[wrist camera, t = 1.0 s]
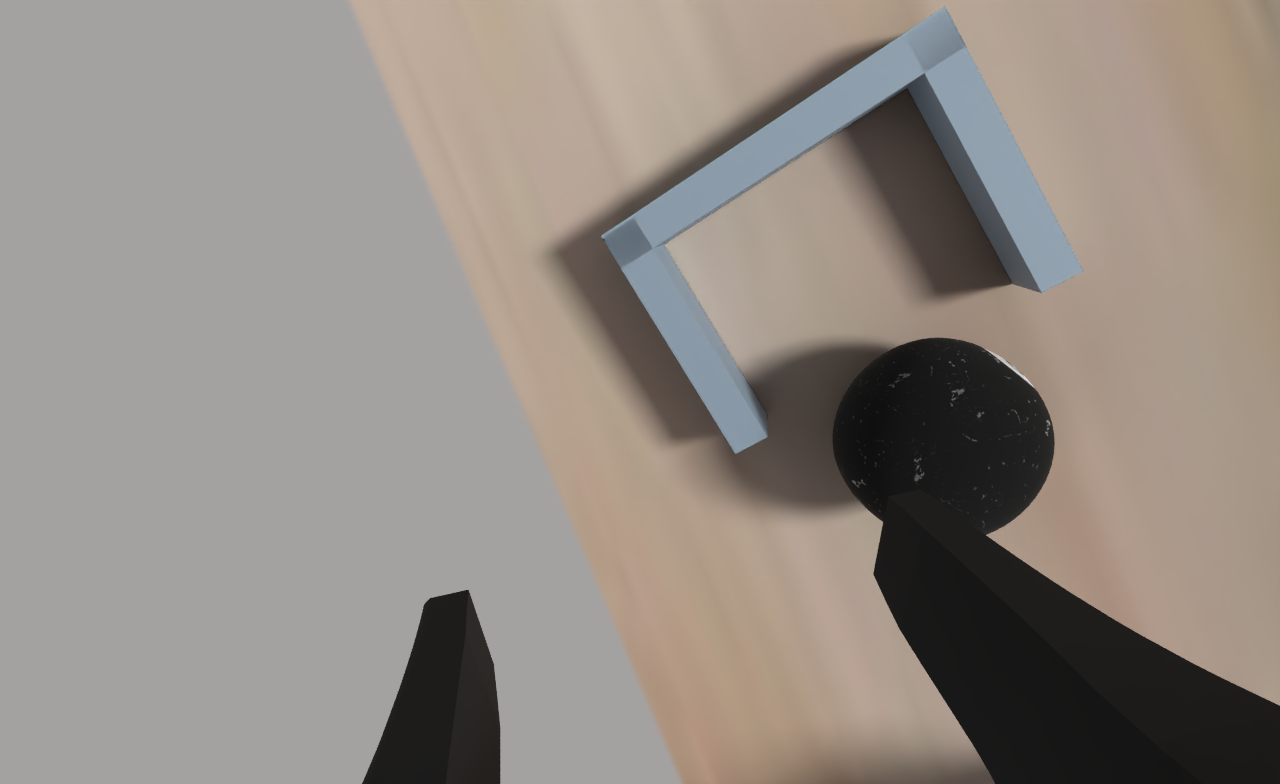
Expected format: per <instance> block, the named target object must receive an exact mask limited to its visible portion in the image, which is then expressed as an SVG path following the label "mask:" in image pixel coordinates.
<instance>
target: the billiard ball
mask: <svg viewBox="0 0 1280 784" xmlns="http://www.w3.org/2000/svg"><path fill="white" fill-rule="evenodd" d="M1054 444H1055V443H1054V431H1053V426H1052V421H1051V418H1050V415H1049V413H1048V410H1047V408H1046V406H1045V404H1044V402H1043V400H1042V398H1041V397H1040V395H1039V393H1038V392H1037V391H1036V389H1035V388H1034V387H1033V385H1032V384H1031V383H1030V382H1029V380H1028V379H1027V378H1026V377H1025V376H1024V375H1023V374H1022V373H1021V372H1020V371H1018V370H1017V369H1016V368H1015V367H1014V366H1013V365H1011V364H1010V363H1009V362H1007V361H1006V360H1005V359H1003V358H1002V357H1000V356H998V355H997V354H995V353H993V352H991V351H989V350H987V349H985V348H983V347H980V346H978V345H975V344H973V343H969V342H965V341H961V340H956V339H950V338H928V339H921V340H916V341H912V342H909V343H906V344H903V345H900V346H898V347H896V348H894V349H892V350H890V351H888V352H886V353H885V354H883V355H881V356H880V357H879V358H877V359H876V360H874V361H873V362H872V363H871V364H869V365H868V366H867V367H866V368H865V369H864V370H863V371H862V372H861V373H860V374H859V375H858V376H857V378H856V379H855V380H854V381H853V383H852V384H851V386H850V387H849V388H848V390H847V392H846V393H845V395H844V397H843V399H842V401H841V403H840V405H839V408H838V411H837V414H836V417H835V422H834V427H833V449H834V455H835V459H836V463H837V465H838V468H839V470H840V473H841V475H842V477H843V479H844V481H845V482H846V484H847V485H848V487H849V488H850V490H851V491H852V493H853V494H854V495H855V496H856V498H857V499H858V500H859V501H860V502H861V503H862V504H863V505H864V506H865V507H866V508H867V509H868V510H869V511H870V512H871V513H872V514H873V515H875V516H876V517H877V518H879V519H880V520H881V521H883V522H884V516H885V511H886V506H887V501H888V496H892V495H897V494H901V493H906V492H910V491H915V490H919V489H921V490H923V491H924V492H926V493H927V494H929V495H930V496H932V497H933V498H934V499H936V500H937V501H939V502H940V503H941V504H943V505H944V506H946V507H947V508H948V509H950V510H951V511H953V512H954V513H955V514H957V515H958V516H960V517H961V518H962V519H964V520H965V521H967V522H968V523H969V524H971V525H972V526H973V527H975V528H976V529H978V530H979V531H980V532H982V533H983V534H985V535H987V534H989V533H991V532H994V531H996V530H998V529H999V528H1001V527H1003V526H1005V525H1006V524H1008V523H1009V522H1011V521H1012V520H1014V519H1015V518H1016V517H1017V516H1019V515H1020V514H1021V513H1022V512H1023V511H1024V510H1025V509H1026V508H1027V507H1028V506H1029V505H1030V504H1031V502H1032V501H1033V500H1034V499H1035V497H1036V496H1037V494H1038V493H1039V491H1040V490H1041V488H1042V486H1043V485H1044V483H1045V481H1046V479H1047V476H1048V474H1049V471H1050V468H1051V465H1052V460H1053V455H1054Z"/></svg>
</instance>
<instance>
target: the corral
mask: <svg viewBox="0 0 1280 784" xmlns="http://www.w3.org/2000/svg"><path fill="white" fill-rule="evenodd" d="M906 88H908V90H909V92H910V94H911V96H912V98H913V100H914V101H915V103H916V105H917V107H918V109H919V111H920V113H921V114H922V116H923V118H924V120H925V122H926V124H927V126H928V127H929V129H930V131H931V133H932V135H933V137H934V139H935V140H936V142H937V144H938V146H939V148H940V150H941V152H942V153H943V155H944V157H945V159H946V161H947V163H948V165H949V166H950V168H951V170H952V172H953V174H954V176H955V177H956V179H957V181H958V183H959V185H960V187H961V189H962V190H963V192H964V194H965V196H966V198H967V200H968V202H969V203H970V205H971V207H972V209H973V211H974V213H975V215H976V216H977V218H978V220H979V222H980V224H981V226H982V228H983V229H984V231H985V233H986V235H987V237H988V239H989V241H990V242H991V244H992V246H993V248H994V250H995V252H996V254H997V255H998V257H999V259H1000V261H1001V263H1002V265H1003V267H1004V268H1005V270H1006V272H1007V274H1008V276H1009V278H1010V280H1011V281H1012V283H1013V284H1014V285H1017V286H1021V287H1024V288H1027V289H1031V290H1034V291H1037V292H1040V293H1043V292H1045V291H1046V290H1048V289H1050V288H1052V287H1054V286H1056V285H1058V284H1060V283H1062V282H1064V281H1066V280H1067V279H1069V278H1071V277H1073V276H1075V275H1077V274H1079V273H1081V272H1083V269H1082V267H1081V265H1080V263H1079V261H1078V259H1077V257H1076V255H1075V253H1074V252H1073V250H1072V248H1071V246H1070V244H1069V242H1068V240H1067V238H1066V236H1065V234H1064V232H1063V231H1062V229H1061V227H1060V225H1059V223H1058V221H1057V219H1056V217H1055V215H1054V213H1053V211H1052V209H1051V208H1050V206H1049V204H1048V202H1047V200H1046V198H1045V196H1044V194H1043V192H1042V190H1041V188H1040V187H1039V185H1038V183H1037V181H1036V179H1035V177H1034V175H1033V173H1032V171H1031V169H1030V167H1029V166H1028V164H1027V162H1026V160H1025V158H1024V156H1023V154H1022V152H1021V150H1020V148H1019V146H1018V144H1017V143H1016V141H1015V139H1014V137H1013V135H1012V133H1011V131H1010V129H1009V127H1008V125H1007V123H1006V122H1005V120H1004V118H1003V116H1002V114H1001V112H1000V110H999V108H998V106H997V104H996V102H995V100H994V99H993V97H992V95H991V93H990V91H989V89H988V87H987V85H986V83H985V81H984V79H983V78H982V76H981V74H980V72H979V70H978V68H977V66H976V64H975V62H974V60H973V58H972V56H971V55H970V53H969V51H968V49H967V47H966V45H965V43H964V41H963V39H962V37H961V35H960V34H959V32H958V30H957V28H956V26H955V24H954V22H953V20H952V18H951V16H950V14H949V12H948V11H947V9H946V7H945V6H944V7H943V8H941V9H940V10H938V11H937V12H935V13H934V14H932V15H931V16H929V17H928V18H926V19H925V20H923V21H922V22H920V23H919V24H918V25H916V26H915V27H913V28H912V29H910V30H909V31H907V32H906V33H904V34H903V35H901V36H900V37H898V38H897V39H895V40H894V41H892V42H891V43H889V44H888V45H886V46H885V47H883V48H882V49H880V50H879V51H877V52H876V53H874V54H873V55H871V56H870V57H868V58H867V59H865V60H864V61H862V62H861V63H859V64H858V65H856V66H855V67H853V68H852V69H850V70H849V71H847V72H846V73H844V74H843V75H841V76H840V77H838V78H837V79H835V80H834V81H832V82H831V83H829V84H828V85H826V86H825V87H823V88H822V89H820V90H819V91H817V92H816V93H814V94H813V95H811V96H810V97H808V98H807V99H805V100H804V101H802V102H801V103H799V104H798V105H796V106H795V107H793V108H792V109H790V110H789V111H787V112H786V113H784V114H783V115H781V116H780V117H778V118H777V119H775V120H774V121H772V122H771V123H769V124H768V125H766V126H765V127H763V128H762V129H760V130H759V131H757V132H756V133H754V134H753V135H751V136H750V137H748V138H747V139H745V140H744V141H742V142H741V143H739V144H738V145H736V146H735V147H733V148H732V149H730V150H729V151H727V152H726V153H724V154H723V155H721V156H720V157H718V158H717V159H715V160H714V161H712V162H711V163H709V164H708V165H706V166H705V167H703V168H702V169H700V170H699V171H697V172H696V173H694V174H693V175H691V176H690V177H688V178H687V179H685V180H684V181H682V182H681V183H679V184H678V185H676V186H675V187H673V188H672V189H670V190H669V191H667V192H666V193H664V194H663V195H661V196H660V197H658V198H657V199H655V200H654V201H652V202H651V203H649V204H648V205H646V206H645V207H643V208H642V209H640V210H639V211H637V212H636V213H634V214H633V215H632V216H630V217H629V218H627V219H626V220H624V221H623V222H621V223H620V224H618V225H617V226H615V227H614V228H612V229H611V230H609V231H608V232H606V233H605V234H603V235H602V236H601V237H602V239H603V240H604V242H605V244H606V245H607V247H608V248H609V250H610V252H611V253H612V255H613V257H614V258H615V260H616V261H617V263H618V265H619V266H620V268H621V269H622V271H623V273H624V274H625V276H626V278H627V279H628V281H629V282H630V284H631V286H632V287H633V289H634V291H635V292H636V294H637V295H638V297H639V299H640V300H641V302H642V303H643V305H644V307H645V308H646V310H647V312H648V313H649V315H650V316H651V318H652V320H653V321H654V323H655V325H656V326H657V328H658V329H659V331H660V333H661V334H662V336H663V337H664V339H665V341H666V342H667V344H668V346H669V347H670V349H671V350H672V352H673V354H674V355H675V357H676V359H677V360H678V362H679V363H680V365H681V367H682V368H683V370H684V372H685V373H686V375H687V376H688V378H689V380H690V381H691V383H692V384H693V386H694V388H695V389H696V391H697V393H698V394H699V396H700V397H701V399H702V401H703V402H704V404H705V406H706V407H707V409H708V410H709V412H710V414H711V415H712V417H713V418H714V420H715V422H716V423H717V425H718V427H719V428H720V430H721V431H722V433H723V435H724V436H725V438H726V440H727V441H728V443H729V444H730V446H731V448H732V449H733V451H734V453H735V454H737V453H739V452H740V451H742V450H744V449H746V448H748V447H750V446H752V445H754V444H756V443H758V442H759V441H761V440H763V439H765V438H767V437H768V415H767V414H766V412H765V410H764V409H763V407H762V406H761V404H760V402H759V401H758V399H757V397H756V396H755V394H754V392H753V391H752V389H751V387H750V386H749V384H748V382H747V381H746V379H745V377H744V376H743V374H742V372H741V371H740V369H739V368H738V366H737V364H736V363H735V361H734V359H733V358H732V356H731V354H730V353H729V351H728V349H727V348H726V346H725V344H724V343H723V341H722V339H721V338H720V336H719V334H718V333H717V331H716V330H715V328H714V326H713V325H712V323H711V321H710V320H709V318H708V316H707V315H706V313H705V311H704V310H703V308H702V306H701V305H700V303H699V301H698V300H697V298H696V297H695V295H694V293H693V292H692V290H691V288H690V287H689V285H688V283H687V282H686V280H685V278H684V277H683V275H682V273H681V272H680V270H679V268H678V267H677V265H676V263H675V262H674V260H673V259H672V257H671V255H670V254H669V252H668V250H667V249H666V247H665V245H664V244H666V243H667V242H669V241H670V240H672V239H673V238H675V237H676V236H678V235H680V234H681V233H683V232H684V231H686V230H687V229H689V228H690V227H692V226H694V225H695V224H697V223H698V222H700V221H701V220H703V219H704V218H706V217H708V216H709V215H711V214H712V213H714V212H715V211H717V210H718V209H720V208H722V207H723V206H725V205H726V204H728V203H729V202H731V201H732V200H734V199H736V198H737V197H739V196H740V195H742V194H743V193H745V192H746V191H748V190H749V189H751V188H753V187H754V186H756V185H757V184H759V183H760V182H762V181H763V180H765V179H767V178H768V177H770V176H771V175H773V174H774V173H776V172H777V171H779V170H781V169H782V168H784V167H785V166H787V165H788V164H790V163H791V162H793V161H795V160H796V159H798V158H799V157H801V156H802V155H804V154H805V153H807V152H809V151H810V150H812V149H813V148H815V147H816V146H818V145H819V144H821V143H823V142H824V141H826V140H827V139H829V138H830V137H832V136H833V135H835V134H836V133H838V132H840V131H841V130H843V129H844V128H846V127H847V126H849V125H850V124H852V123H854V122H855V121H857V120H858V119H860V118H861V117H863V116H864V115H866V114H868V113H869V112H871V111H872V110H874V109H875V108H877V107H878V106H880V105H882V104H883V103H885V102H886V101H888V100H889V99H891V98H892V97H894V96H896V95H897V94H899V93H900V92H902V91H903V90H905V89H906Z"/></svg>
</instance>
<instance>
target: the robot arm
mask: <svg viewBox="0 0 1280 784" xmlns="http://www.w3.org/2000/svg"><path fill="white" fill-rule="evenodd" d="M874 576H875V579H876V581H877V583H878V585H879V587H880V589H881V592H882V594H883V596H884V598H885V600H886V602H887V605H888V607H889V609H890V611H891V613H892V615H893V617H894V619H895V621H896V623H897V625H898V627H899V629H900V630H901V632H902V634H903V635H904V637H905V638H906V640H907V642H908V643H909V645H910V647H911V648H912V650H913V651H914V653H915V654H916V656H917V658H918V659H919V661H920V662H921V664H922V666H923V667H924V669H925V670H926V672H927V674H928V675H929V677H930V678H931V680H932V681H933V683H934V684H935V686H936V688H937V689H938V691H939V692H940V694H941V695H942V697H943V699H944V700H945V702H946V703H947V705H948V706H949V708H950V709H951V711H952V713H953V714H954V716H955V717H956V719H957V720H958V722H959V724H960V725H961V727H962V728H963V730H964V731H965V733H966V735H967V736H968V738H969V739H970V741H971V742H972V744H973V746H974V747H975V749H976V751H977V752H978V754H979V756H980V757H981V759H982V761H983V762H984V764H985V766H986V768H987V769H988V771H989V773H990V774H991V776H992V778H993V780H994V782H995V784H1280V706H1279V705H1277V704H1275V703H1273V702H1271V701H1269V700H1266V699H1264V698H1262V697H1260V696H1258V695H1256V694H1254V693H1252V692H1250V691H1248V690H1245V689H1243V688H1241V687H1239V686H1237V685H1235V684H1233V683H1231V682H1229V681H1227V680H1225V679H1222V678H1221V677H1219V676H1217V675H1215V674H1213V673H1211V672H1209V671H1207V670H1205V669H1203V668H1201V667H1199V666H1197V665H1195V664H1193V663H1191V662H1189V661H1187V660H1185V659H1184V658H1182V657H1180V656H1178V655H1176V654H1174V653H1173V652H1171V651H1169V650H1167V649H1165V648H1163V647H1162V646H1160V645H1158V644H1156V643H1154V642H1152V641H1151V640H1149V639H1147V638H1145V637H1143V636H1141V635H1140V634H1138V633H1136V632H1134V631H1133V630H1131V629H1129V628H1127V627H1126V626H1124V625H1122V624H1121V623H1119V622H1117V621H1115V620H1114V619H1112V618H1111V617H1109V616H1107V615H1106V614H1104V613H1102V612H1101V611H1099V610H1098V609H1096V608H1094V607H1093V606H1091V605H1089V604H1088V603H1086V602H1085V601H1083V600H1081V599H1080V598H1078V597H1076V596H1075V595H1073V594H1072V593H1070V592H1069V591H1067V590H1066V589H1064V588H1062V587H1061V586H1059V585H1058V584H1056V583H1055V582H1053V581H1052V580H1050V579H1049V578H1047V577H1046V576H1044V575H1043V574H1041V573H1040V572H1038V571H1037V570H1035V569H1034V568H1032V567H1031V566H1029V565H1028V564H1026V563H1025V562H1023V561H1022V560H1020V559H1019V558H1017V557H1016V556H1015V555H1013V554H1012V553H1010V552H1009V551H1007V550H1006V549H1005V548H1003V547H1002V546H1000V545H999V544H997V543H996V542H995V541H993V540H992V539H990V538H989V537H988V536H986V535H985V534H983V533H982V532H980V531H979V530H978V529H976V528H975V527H973V526H972V525H971V524H969V523H968V522H967V521H965V520H964V519H962V518H961V517H960V516H958V515H957V514H955V513H954V512H953V511H951V510H950V509H948V508H947V507H946V506H944V505H943V504H941V503H940V502H939V501H937V500H936V499H934V498H933V497H932V496H930V495H929V494H927V493H926V492H924V491H923V490H921V489H919V490H915V491H910V492H906V493H901V494H897V495H892V496H888V501H887V506H886V511H885V516H884V522H883V527H882V532H881V537H880V542H879V548H878V553H877V558H876V563H875V568H874ZM362 784H500V722H499V711H498V701H497V691H496V681H495V672H494V664H493V661H492V658H491V655H490V652H489V649H488V646H487V643H486V640H485V637H484V634H483V631H482V628H481V625H480V622H479V620H478V617H477V614H476V611H475V608H474V605H473V602H472V599H471V596H470V593H469V590H465V591H461V592H456V593H452V594H447V595H443V596H438V597H434V598H430V599H429V600H428V601H427V602H426V603H425V604H424V607H423V612H422V616H421V620H420V624H419V627H418V631H417V635H416V638H415V642H414V645H413V649H412V652H411V655H410V658H409V661H408V665H407V667H406V670H405V674H404V677H403V680H402V683H401V686H400V689H399V691H398V694H397V697H396V700H395V702H394V705H393V708H392V710H391V713H390V716H389V718H388V721H387V724H386V727H385V730H384V732H383V735H382V737H381V740H380V742H379V745H378V748H377V750H376V753H375V755H374V757H373V760H372V762H371V764H370V767H369V769H368V771H367V774H366V776H365V778H364V781H363V783H362Z"/></svg>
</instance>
